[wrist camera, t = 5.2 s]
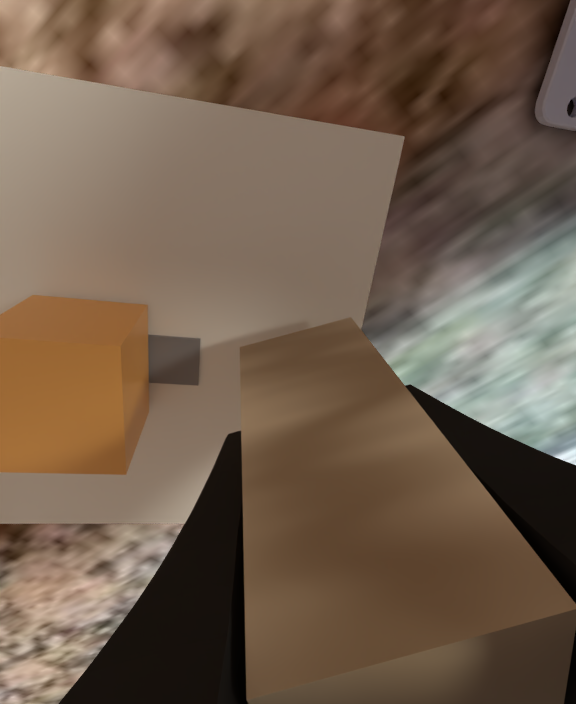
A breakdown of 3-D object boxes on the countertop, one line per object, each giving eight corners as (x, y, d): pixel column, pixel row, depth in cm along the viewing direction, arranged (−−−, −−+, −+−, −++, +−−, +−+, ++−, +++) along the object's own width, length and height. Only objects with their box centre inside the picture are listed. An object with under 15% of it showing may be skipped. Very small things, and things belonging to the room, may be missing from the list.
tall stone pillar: (350, 317, 11) (579, 608, 4) (367, 410, 12) (555, 752, 5) (239, 347, 11) (245, 700, 4) (269, 436, 12) (316, 819, 5)
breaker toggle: (147, 304, 11) (120, 346, 8) (149, 411, 13) (126, 474, 10) (32, 294, 11) (-34, 335, 8) (48, 406, 12) (-5, 472, 9)
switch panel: (388, 140, 11) (406, 135, 10) (312, 501, 17) (318, 525, 16) (-523, -17, 8) (-653, -49, 7) (-242, 495, 14) (-286, 526, 13)
